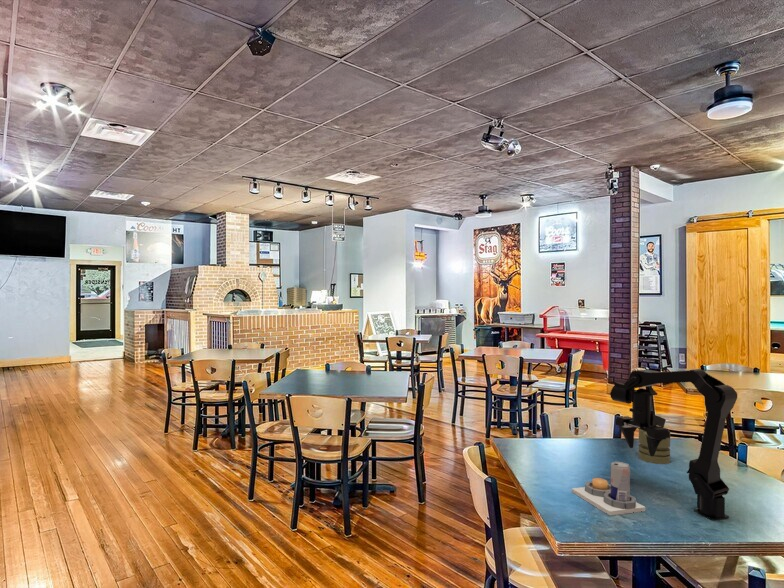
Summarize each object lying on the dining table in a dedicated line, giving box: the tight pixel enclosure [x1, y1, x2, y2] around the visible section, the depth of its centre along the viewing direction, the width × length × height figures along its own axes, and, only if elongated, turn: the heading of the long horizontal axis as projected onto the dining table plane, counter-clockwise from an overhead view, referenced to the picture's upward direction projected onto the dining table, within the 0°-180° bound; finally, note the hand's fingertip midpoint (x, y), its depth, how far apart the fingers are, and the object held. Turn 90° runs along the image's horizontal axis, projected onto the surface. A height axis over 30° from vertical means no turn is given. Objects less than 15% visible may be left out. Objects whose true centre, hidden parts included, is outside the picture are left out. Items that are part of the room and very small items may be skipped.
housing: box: [571, 477, 646, 516], centre depth 152 cm, size 18×13×5 cm
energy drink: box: [610, 461, 631, 502], centre depth 148 cm, size 5×5×12 cm
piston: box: [638, 427, 671, 465], centre depth 194 cm, size 11×12×11 cm
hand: (641, 451), depth 163 cm, fingers open, 9 cm apart
